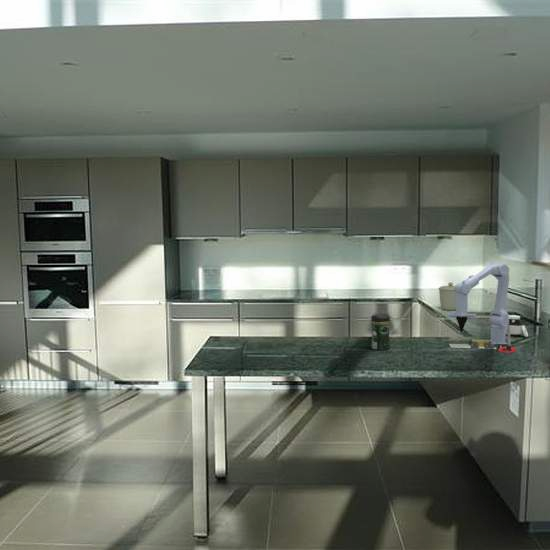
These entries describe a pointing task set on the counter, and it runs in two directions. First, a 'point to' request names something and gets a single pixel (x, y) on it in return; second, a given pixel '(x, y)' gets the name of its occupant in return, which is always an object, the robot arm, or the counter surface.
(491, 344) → the chain end
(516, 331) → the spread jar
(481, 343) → the link
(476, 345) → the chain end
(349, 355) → the counter surface
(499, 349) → the tow hook
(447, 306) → the canister
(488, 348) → the mat
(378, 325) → the coffee jar
